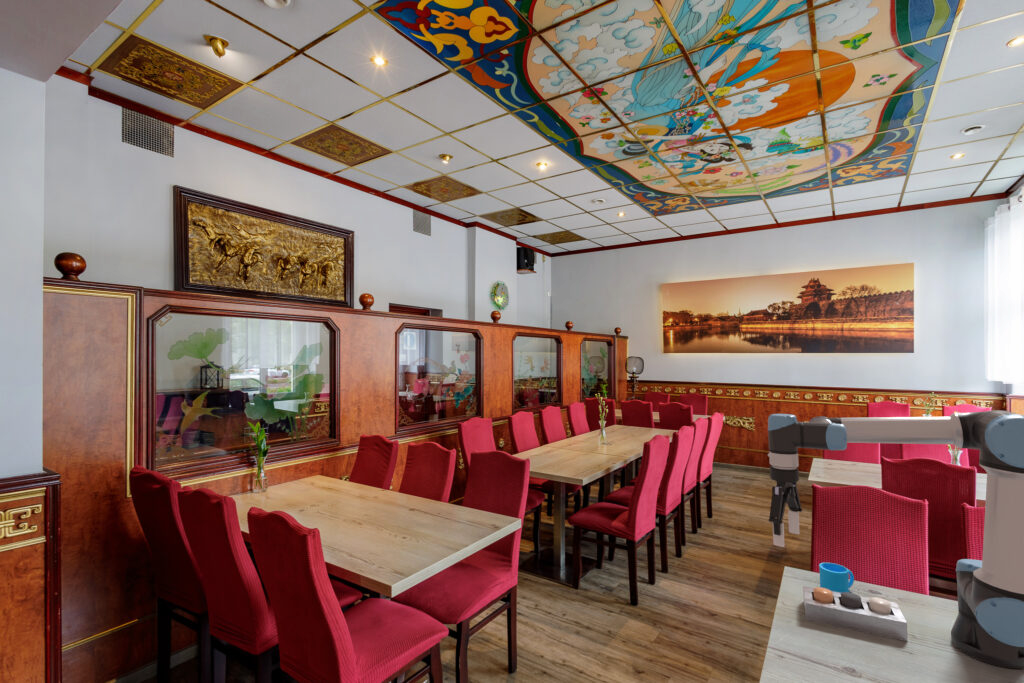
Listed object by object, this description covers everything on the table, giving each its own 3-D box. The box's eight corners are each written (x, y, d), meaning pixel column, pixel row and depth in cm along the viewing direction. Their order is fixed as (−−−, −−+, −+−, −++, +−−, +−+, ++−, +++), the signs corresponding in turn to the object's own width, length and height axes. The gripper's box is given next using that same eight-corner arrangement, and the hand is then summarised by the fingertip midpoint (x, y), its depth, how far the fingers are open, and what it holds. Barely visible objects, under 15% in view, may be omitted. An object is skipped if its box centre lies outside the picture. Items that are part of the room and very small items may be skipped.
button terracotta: (832, 602, 148) (831, 589, 148) (834, 610, 143) (833, 596, 144) (813, 598, 150) (812, 586, 150) (814, 606, 146) (814, 592, 146)
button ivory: (889, 613, 141) (888, 599, 141) (893, 621, 137) (892, 607, 137) (868, 609, 144) (867, 595, 144) (871, 617, 139) (870, 603, 139)
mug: (835, 599, 155) (834, 574, 156) (814, 588, 163) (813, 563, 164) (865, 595, 158) (864, 570, 158) (842, 584, 166) (842, 560, 166)
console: (897, 619, 143) (896, 602, 143) (907, 641, 132) (906, 622, 133) (803, 601, 154) (803, 586, 154) (806, 620, 144) (805, 603, 144)
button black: (860, 607, 145) (859, 594, 145) (862, 615, 140) (862, 601, 140) (840, 604, 147) (839, 590, 147) (842, 611, 142) (841, 598, 143)
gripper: (784, 458, 153) (786, 525, 152) (754, 472, 136) (757, 547, 135) (810, 461, 148) (813, 531, 147) (783, 476, 131) (786, 555, 130)
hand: (786, 539), depth 141 cm, fingers open, 13 cm apart
